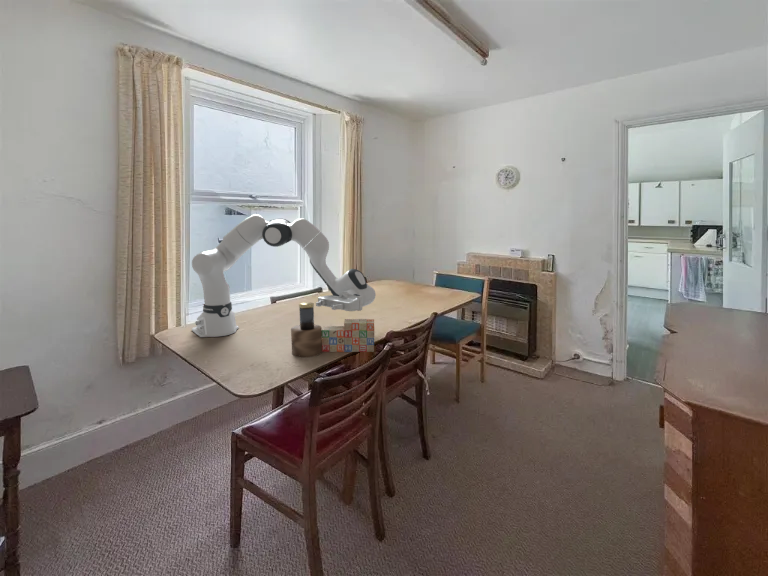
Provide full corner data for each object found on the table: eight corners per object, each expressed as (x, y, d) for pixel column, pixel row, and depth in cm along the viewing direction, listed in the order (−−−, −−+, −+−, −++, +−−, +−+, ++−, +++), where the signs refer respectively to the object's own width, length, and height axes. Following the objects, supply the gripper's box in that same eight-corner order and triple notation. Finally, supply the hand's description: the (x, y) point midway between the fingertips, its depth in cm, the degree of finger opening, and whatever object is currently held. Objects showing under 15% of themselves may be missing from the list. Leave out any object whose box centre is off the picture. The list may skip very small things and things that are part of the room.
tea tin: (297, 328, 153) (295, 304, 151) (307, 325, 158) (307, 301, 156) (306, 331, 150) (305, 306, 148) (317, 327, 154) (316, 303, 152)
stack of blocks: (321, 352, 156) (320, 322, 153) (323, 347, 162) (322, 318, 159) (374, 352, 156) (374, 322, 154) (374, 346, 162) (374, 318, 160)
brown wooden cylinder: (285, 352, 154) (284, 328, 152) (308, 345, 164) (307, 322, 162) (305, 359, 147) (304, 334, 145) (328, 351, 156) (327, 327, 155)
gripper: (331, 290, 176) (307, 295, 165) (364, 296, 163) (341, 302, 153) (331, 304, 177) (308, 309, 166) (365, 310, 164) (342, 317, 154)
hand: (324, 306), depth 159 cm, fingers open, 8 cm apart
